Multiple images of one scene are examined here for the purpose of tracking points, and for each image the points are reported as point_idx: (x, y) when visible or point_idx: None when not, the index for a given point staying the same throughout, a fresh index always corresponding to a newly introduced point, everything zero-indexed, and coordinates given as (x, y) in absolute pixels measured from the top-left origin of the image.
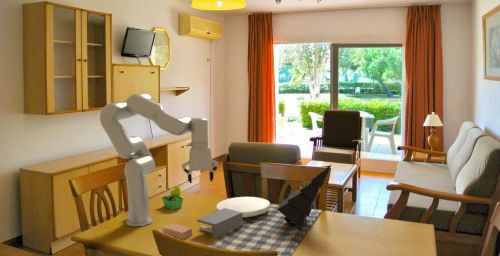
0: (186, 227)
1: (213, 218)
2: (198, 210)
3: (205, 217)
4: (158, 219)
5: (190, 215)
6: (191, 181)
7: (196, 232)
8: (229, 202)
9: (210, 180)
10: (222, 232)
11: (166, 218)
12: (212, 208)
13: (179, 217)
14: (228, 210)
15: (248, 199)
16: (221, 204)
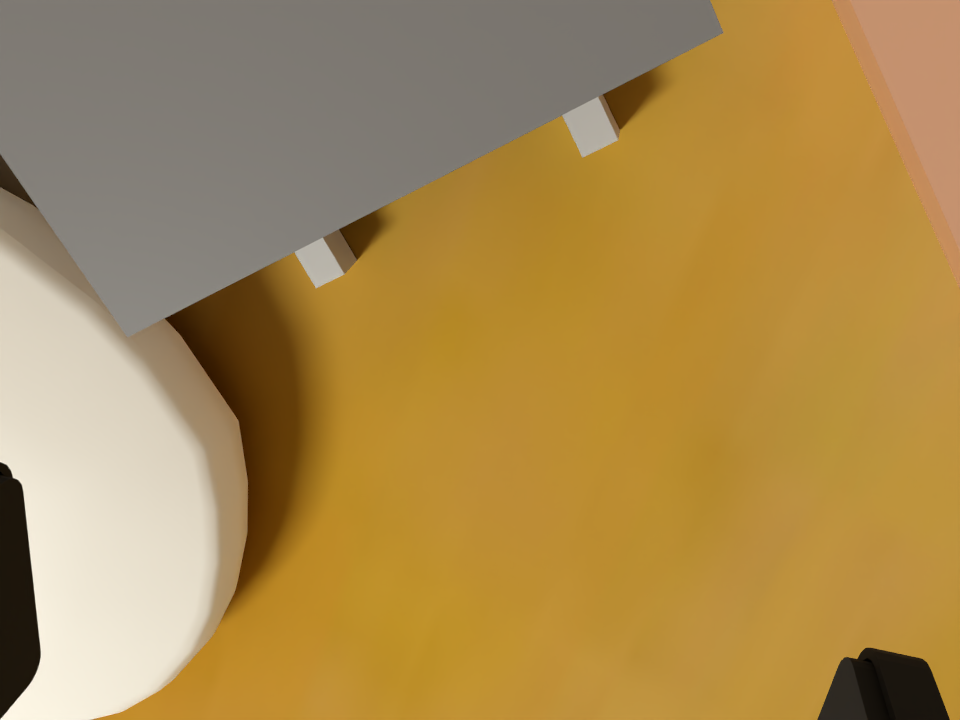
0: (893, 62)
1: None
2: (417, 714)
3: (545, 51)
4: (953, 709)
5: (553, 633)
6: (870, 701)
7: (710, 46)
8: None
9: (23, 555)
10: None
11: None
12: (255, 689)
13: (696, 642)
14: (90, 200)
15: None
16: (138, 596)
